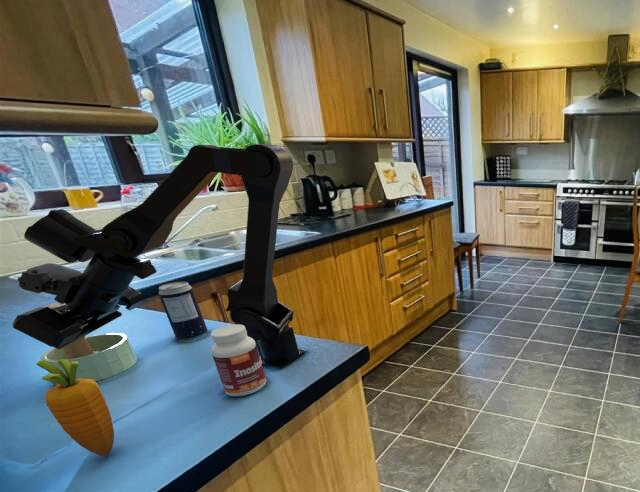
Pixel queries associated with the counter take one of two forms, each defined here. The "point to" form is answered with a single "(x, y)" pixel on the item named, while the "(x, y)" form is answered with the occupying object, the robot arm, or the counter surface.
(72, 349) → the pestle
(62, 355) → the bowl
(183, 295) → the dark blue jar
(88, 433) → the carrot
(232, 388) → the pill bottle
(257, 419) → the counter surface
